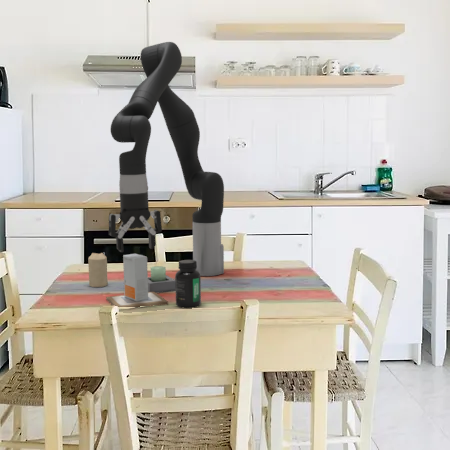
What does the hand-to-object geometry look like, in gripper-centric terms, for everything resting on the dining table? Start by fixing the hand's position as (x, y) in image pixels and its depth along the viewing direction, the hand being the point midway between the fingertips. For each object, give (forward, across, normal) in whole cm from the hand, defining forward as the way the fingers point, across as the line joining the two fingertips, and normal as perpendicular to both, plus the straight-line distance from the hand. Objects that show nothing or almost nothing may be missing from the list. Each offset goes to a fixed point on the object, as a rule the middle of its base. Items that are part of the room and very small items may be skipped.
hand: (136, 249), depth 183 cm
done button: (+13, -10, -11) cm, 19 cm away
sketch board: (+15, +1, 0) cm, 15 cm away
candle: (+15, +5, -24) cm, 29 cm away
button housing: (+15, -10, -11) cm, 21 cm away
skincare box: (+14, +1, 0) cm, 14 cm away
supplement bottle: (+15, -11, +9) cm, 21 cm away
